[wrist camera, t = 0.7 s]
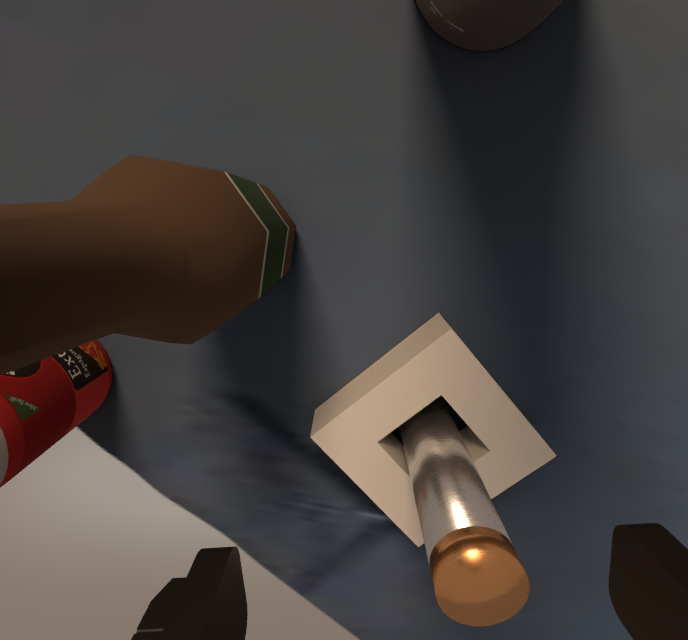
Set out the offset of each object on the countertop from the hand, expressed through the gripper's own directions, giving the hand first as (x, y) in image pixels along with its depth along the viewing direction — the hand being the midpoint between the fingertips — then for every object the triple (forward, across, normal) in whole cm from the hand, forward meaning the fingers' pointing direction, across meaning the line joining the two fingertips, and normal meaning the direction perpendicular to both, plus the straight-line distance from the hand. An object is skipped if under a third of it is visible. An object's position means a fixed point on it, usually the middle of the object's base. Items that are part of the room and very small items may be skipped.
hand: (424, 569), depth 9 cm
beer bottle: (+22, +8, -7) cm, 24 cm away
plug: (+22, -4, +8) cm, 24 cm away
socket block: (+22, -4, +8) cm, 24 cm away
